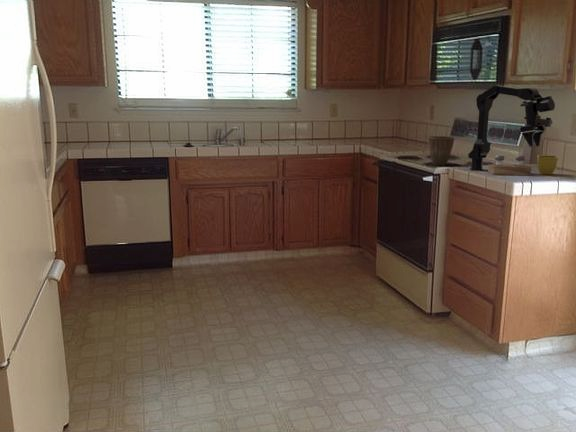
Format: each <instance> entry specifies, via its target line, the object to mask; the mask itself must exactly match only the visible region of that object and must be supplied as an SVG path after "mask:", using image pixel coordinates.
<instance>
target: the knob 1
mask: <svg viewBox="0 0 576 432" xmlns="http://www.w3.org/2000/svg"><path fill="white" fill-rule="evenodd" d="M505 157H506V156H505V155H501V154H500V155H495V156H494V161H496V162H495V165H496V166H502V165H503V161H505Z"/></svg>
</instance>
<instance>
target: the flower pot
mask: <svg viewBox="0 0 576 432" xmlns="http://www.w3.org/2000/svg"><path fill="white" fill-rule="evenodd" d="M557 163H558V156H557V155H546V154H545V155H541V154H539V155H538V154H537V169H538V172H539V173H540V175H549V176H550V175H553V174H554V172H555V170H556V168H557Z"/></svg>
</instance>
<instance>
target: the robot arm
mask: <svg viewBox="0 0 576 432" xmlns="http://www.w3.org/2000/svg"><path fill="white" fill-rule="evenodd" d="M500 94H501V95H507V96H512V97H517V98H518V99H521V100H523V101H522V103H521V104H520V107H524V112H525V116H524V118H523V119H524V120H525V125H522V126H520V128H519V132H520V133H521V135H522V136H523V137H524V140H525V141H526V142H527V144H528V147H530V148H532V147H533V145H534V143H535V146H536V147H539V146H540V144H541V139H542V136H543V134H545V133H546V131H547V128H552V127H551V126H552V124H553V123H554V122H553V119H552V117H546V118H541V117H542V116H541V115H539V113H547V112H551V111H554V110H555V108H556V103H555V102H554V100H553V98H552V97H553V96H545V97H542V95H541V94H540V92H539V90H538V89H537V88H535V87H533V88H532V87H529V88H528V87H524V88H521V87H520V88H517V87H510V86H504V85H501V84H496V85H492V86H491V87H490V88H489V89H487V90H485V91H483V92H482V93H479V95H477V97H476V101H475V102H476V108H477V109H478V121H477V122H478V123H477V132H476V133H477V134H476V135H477V136H476V140H475V141H474V143H473V147H472V150H471V151H469V153H468V154H467V157H468V159H471V162H470V164H471V165H470V167H469V168H468V169H469V170H471V171H484V170H485V168H483V164H484V163H483V160H484V159H486V158H487V156H488V154H489V153H490V151H491V145H492V144H491V143H492V142H490V141H488V128H489V114H490V110H491V109H492V107H493V102H494V101H495V100H496V99H497V98H498V97H499V95H500Z"/></svg>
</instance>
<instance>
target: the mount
mask: <svg viewBox="0 0 576 432" xmlns="http://www.w3.org/2000/svg"><path fill="white" fill-rule="evenodd" d="M487 167H488V169H487V173H489V174H491V175H493V176H495V175H496V176H531V175H532V173H531V172H532V166H529V165H526V164H523V166H517V164H502V166H496V164H488V166H487Z"/></svg>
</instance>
